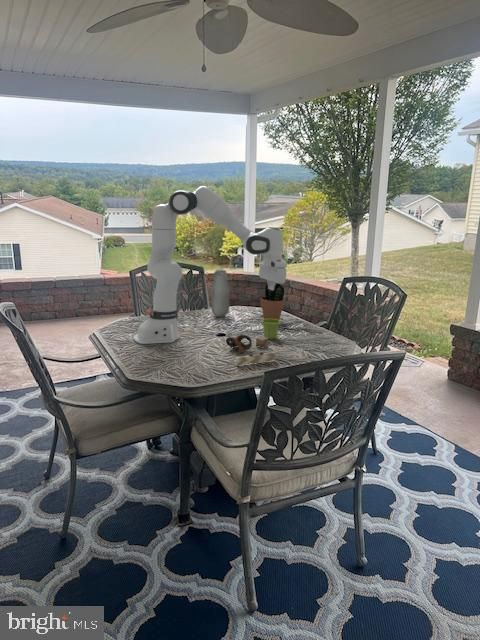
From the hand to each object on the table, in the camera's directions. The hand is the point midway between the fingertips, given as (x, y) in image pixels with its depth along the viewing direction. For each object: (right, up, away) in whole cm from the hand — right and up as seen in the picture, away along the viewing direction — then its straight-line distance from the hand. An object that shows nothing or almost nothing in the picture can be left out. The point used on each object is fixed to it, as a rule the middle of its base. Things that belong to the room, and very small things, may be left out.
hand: (271, 289), depth 223 cm
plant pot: (0, -24, +7) cm, 25 cm away
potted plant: (+3, -16, +39) cm, 42 cm away
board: (-9, -33, -31) cm, 46 cm away
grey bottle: (-27, -13, +45) cm, 54 cm away
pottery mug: (-16, -29, -13) cm, 36 cm away
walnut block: (-5, -27, -7) cm, 29 cm away
